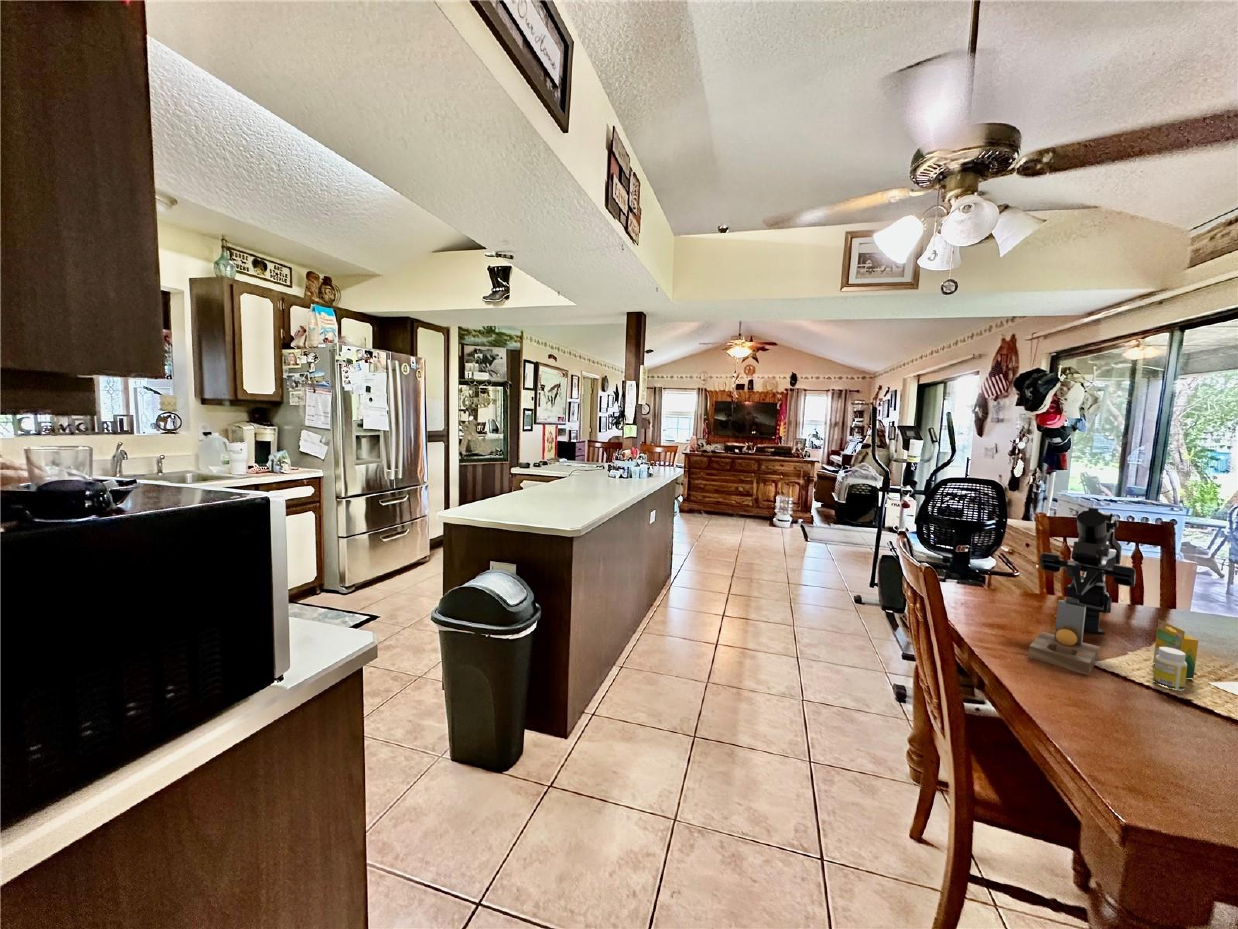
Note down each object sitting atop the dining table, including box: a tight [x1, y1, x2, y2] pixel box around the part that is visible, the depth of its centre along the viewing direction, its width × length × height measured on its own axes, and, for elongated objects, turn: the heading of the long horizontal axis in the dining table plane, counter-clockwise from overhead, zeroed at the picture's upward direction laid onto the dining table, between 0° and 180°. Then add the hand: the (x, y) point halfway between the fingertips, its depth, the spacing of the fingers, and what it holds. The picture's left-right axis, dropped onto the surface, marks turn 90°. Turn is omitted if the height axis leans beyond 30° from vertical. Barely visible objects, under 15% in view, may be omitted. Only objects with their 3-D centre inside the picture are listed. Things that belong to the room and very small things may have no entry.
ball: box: [1056, 629, 1077, 646], centre depth 121 cm, size 4×4×4 cm
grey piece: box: [1054, 597, 1086, 645], centre depth 123 cm, size 2×5×11 cm, turn 38°
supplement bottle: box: [1152, 647, 1187, 690], centre depth 108 cm, size 5×5×8 cm
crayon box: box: [1152, 619, 1199, 679], centre depth 114 cm, size 7×3×12 cm, turn 166°
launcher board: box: [1027, 631, 1100, 676], centre depth 121 cm, size 14×11×3 cm
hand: (1079, 594), depth 128 cm, fingers closed
